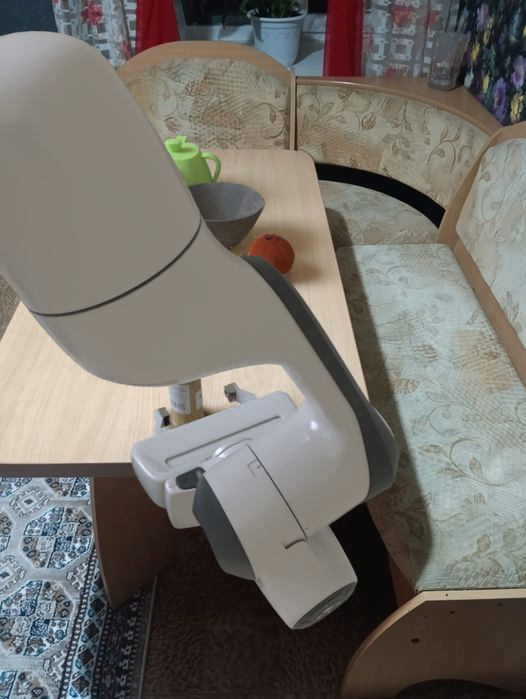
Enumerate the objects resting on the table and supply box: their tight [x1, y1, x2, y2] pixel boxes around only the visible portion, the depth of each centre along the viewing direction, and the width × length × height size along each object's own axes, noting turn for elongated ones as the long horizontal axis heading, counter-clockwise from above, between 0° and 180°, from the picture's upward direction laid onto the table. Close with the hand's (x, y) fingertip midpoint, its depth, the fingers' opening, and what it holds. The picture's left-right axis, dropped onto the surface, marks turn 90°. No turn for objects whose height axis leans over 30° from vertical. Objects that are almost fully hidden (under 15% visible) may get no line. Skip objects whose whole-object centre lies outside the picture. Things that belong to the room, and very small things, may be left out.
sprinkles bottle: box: [167, 378, 206, 428], centre depth 71 cm, size 5×5×14 cm
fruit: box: [247, 233, 296, 276], centre depth 102 cm, size 9×9×8 cm
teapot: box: [163, 135, 222, 186], centre depth 124 cm, size 19×20×14 cm
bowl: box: [188, 181, 266, 250], centre depth 110 cm, size 19×19×10 cm
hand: (195, 399), depth 68 cm, fingers open, 8 cm apart
